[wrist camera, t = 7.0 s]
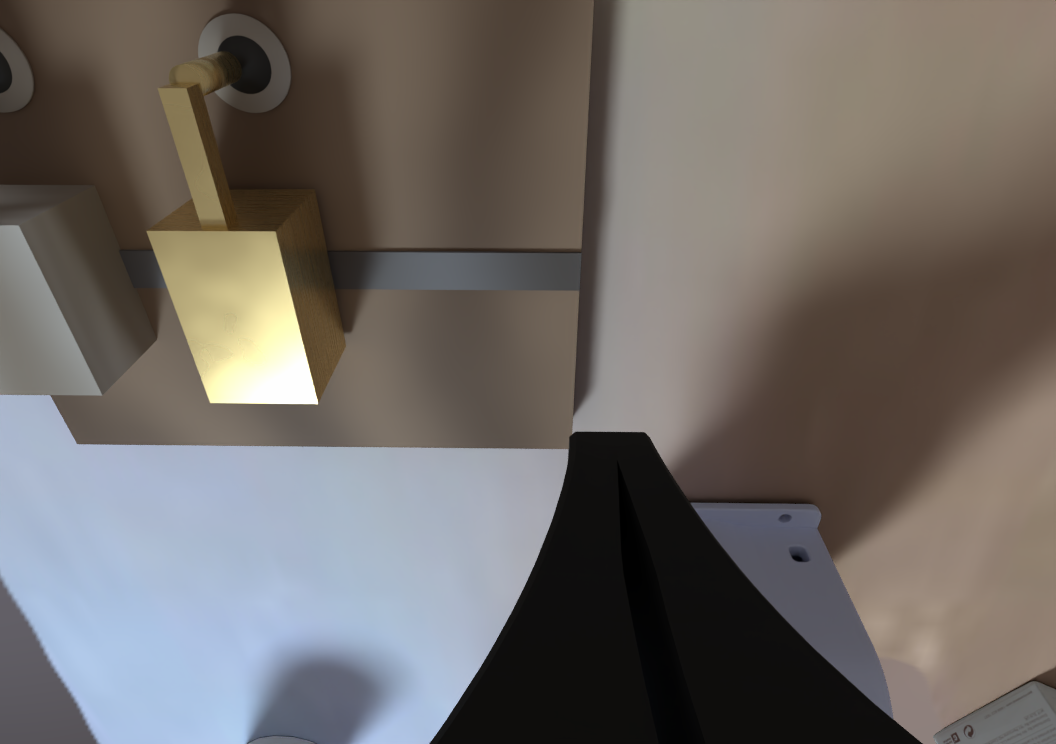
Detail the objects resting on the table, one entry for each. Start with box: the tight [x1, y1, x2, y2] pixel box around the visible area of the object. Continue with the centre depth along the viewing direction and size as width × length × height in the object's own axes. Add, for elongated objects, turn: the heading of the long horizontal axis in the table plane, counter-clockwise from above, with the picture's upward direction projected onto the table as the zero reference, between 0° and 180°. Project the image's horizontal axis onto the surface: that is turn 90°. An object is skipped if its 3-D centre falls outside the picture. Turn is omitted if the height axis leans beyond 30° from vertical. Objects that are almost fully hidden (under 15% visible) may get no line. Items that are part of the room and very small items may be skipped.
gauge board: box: [0, 0, 594, 449], centre depth 18 cm, size 18×14×4 cm
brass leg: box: [146, 51, 346, 404], centre depth 16 cm, size 3×8×3 cm, turn 0°
